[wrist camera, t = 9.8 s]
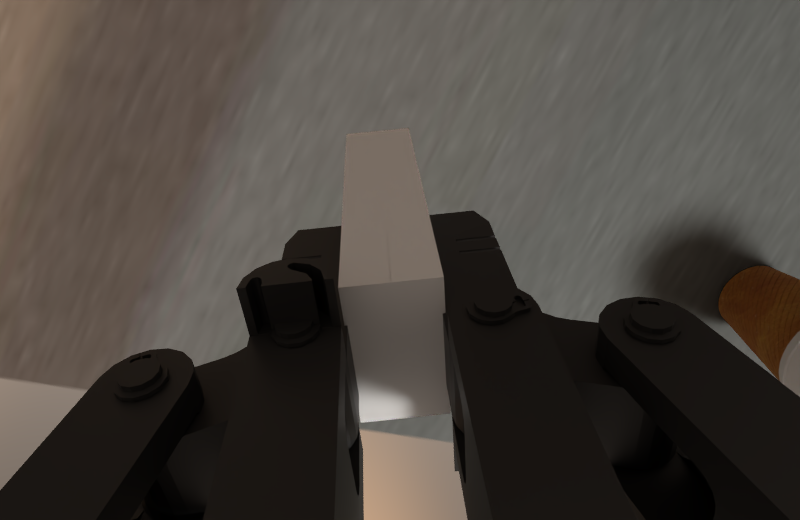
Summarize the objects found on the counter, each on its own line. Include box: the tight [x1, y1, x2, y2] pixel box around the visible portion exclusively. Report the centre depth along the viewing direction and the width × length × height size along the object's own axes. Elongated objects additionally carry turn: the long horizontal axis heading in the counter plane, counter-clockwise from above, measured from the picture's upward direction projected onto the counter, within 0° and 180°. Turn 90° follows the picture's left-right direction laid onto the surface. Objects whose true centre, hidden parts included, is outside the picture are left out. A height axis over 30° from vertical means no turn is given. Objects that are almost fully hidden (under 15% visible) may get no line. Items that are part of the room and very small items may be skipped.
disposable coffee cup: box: [718, 266, 800, 397], centre depth 47 cm, size 10×10×12 cm
